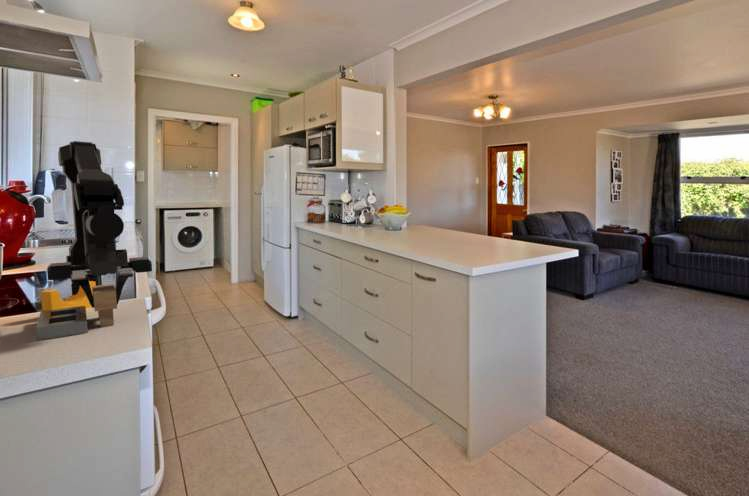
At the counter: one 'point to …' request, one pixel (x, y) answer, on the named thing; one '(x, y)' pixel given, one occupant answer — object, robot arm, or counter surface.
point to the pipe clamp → (54, 301)
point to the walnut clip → (105, 303)
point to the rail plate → (62, 322)
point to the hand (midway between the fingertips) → (104, 305)
